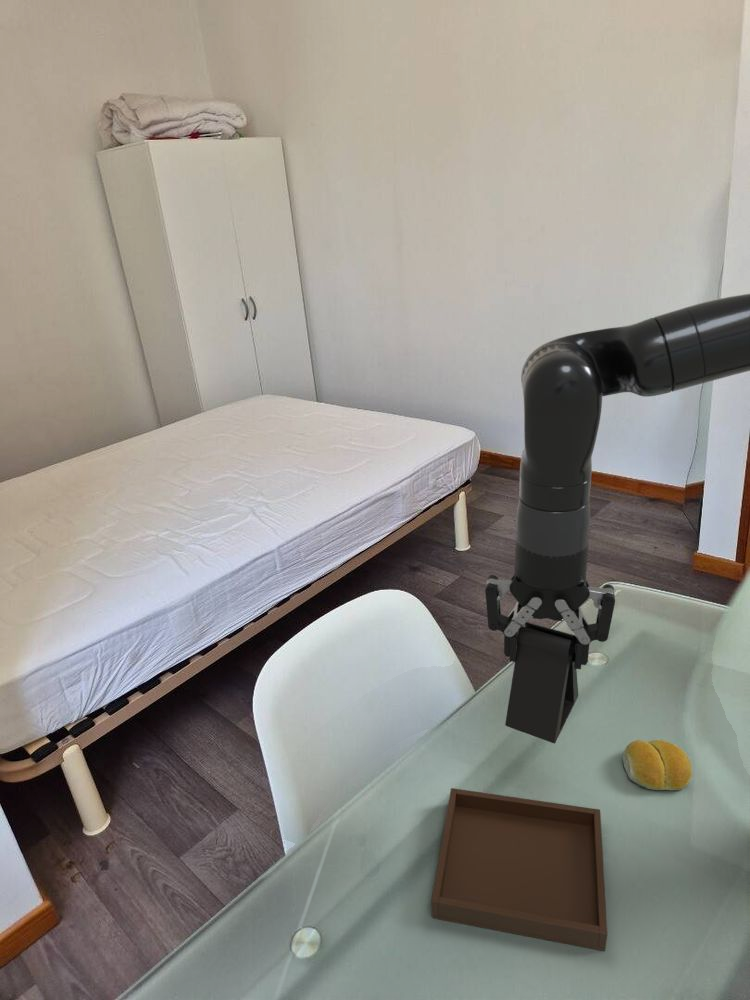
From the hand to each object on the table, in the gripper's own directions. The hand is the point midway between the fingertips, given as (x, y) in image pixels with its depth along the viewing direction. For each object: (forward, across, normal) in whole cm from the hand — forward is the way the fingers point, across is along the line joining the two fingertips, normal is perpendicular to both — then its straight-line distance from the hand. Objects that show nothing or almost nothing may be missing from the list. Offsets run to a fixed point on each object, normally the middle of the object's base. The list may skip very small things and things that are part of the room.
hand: (545, 660), depth 80 cm
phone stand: (+8, 0, 0) cm, 8 cm away
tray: (+28, -2, -7) cm, 29 cm away
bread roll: (+28, +16, +13) cm, 35 cm away
